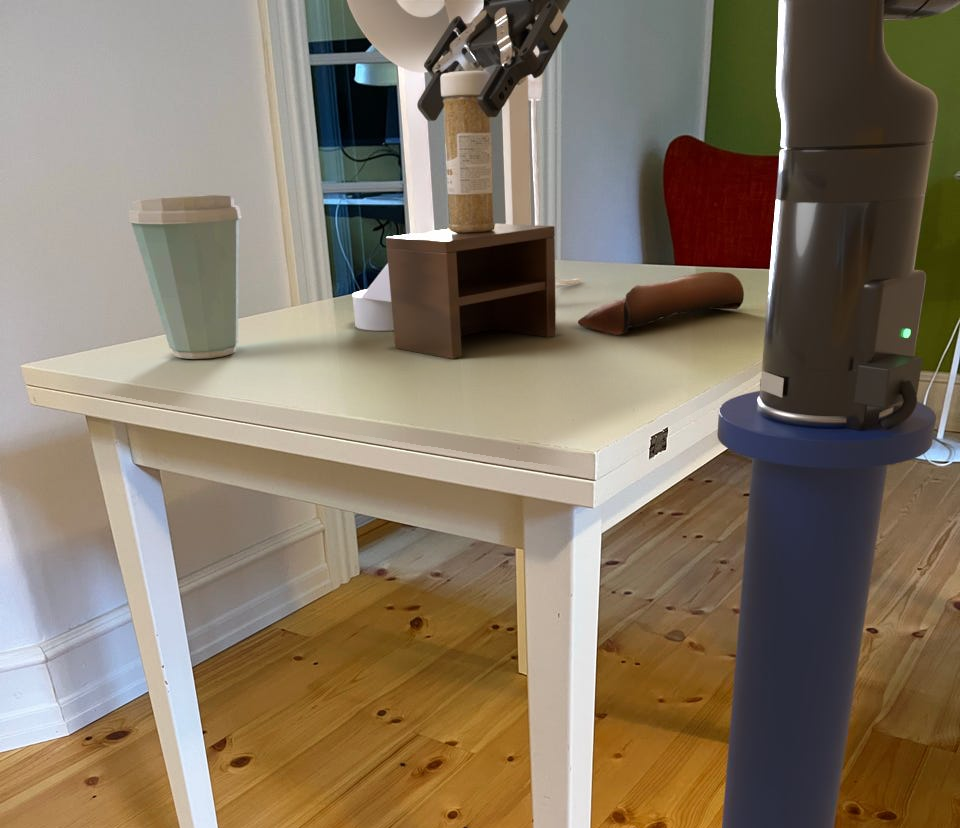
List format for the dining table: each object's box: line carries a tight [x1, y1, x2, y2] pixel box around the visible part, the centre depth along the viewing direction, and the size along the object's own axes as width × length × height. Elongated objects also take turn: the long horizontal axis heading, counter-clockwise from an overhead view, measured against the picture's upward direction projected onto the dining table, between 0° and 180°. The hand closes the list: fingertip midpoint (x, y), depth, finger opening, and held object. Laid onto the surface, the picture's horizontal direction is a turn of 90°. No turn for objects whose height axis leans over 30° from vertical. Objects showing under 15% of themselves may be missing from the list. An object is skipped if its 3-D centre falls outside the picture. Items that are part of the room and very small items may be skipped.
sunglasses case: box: [577, 271, 745, 336], centre depth 105 cm, size 18×7×7 cm, turn 129°
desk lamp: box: [346, 0, 582, 286], centre depth 114 cm, size 21×32×45 cm, turn 137°
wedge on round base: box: [352, 262, 394, 332], centre depth 109 cm, size 9×7×13 cm
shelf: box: [385, 222, 557, 360], centre depth 98 cm, size 9×14×10 cm, turn 132°
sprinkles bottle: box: [440, 70, 495, 233], centre depth 93 cm, size 5×5×13 cm
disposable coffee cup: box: [128, 194, 243, 360], centre depth 98 cm, size 11×11×15 cm
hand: (454, 112), depth 90 cm, fingers open, 8 cm apart
